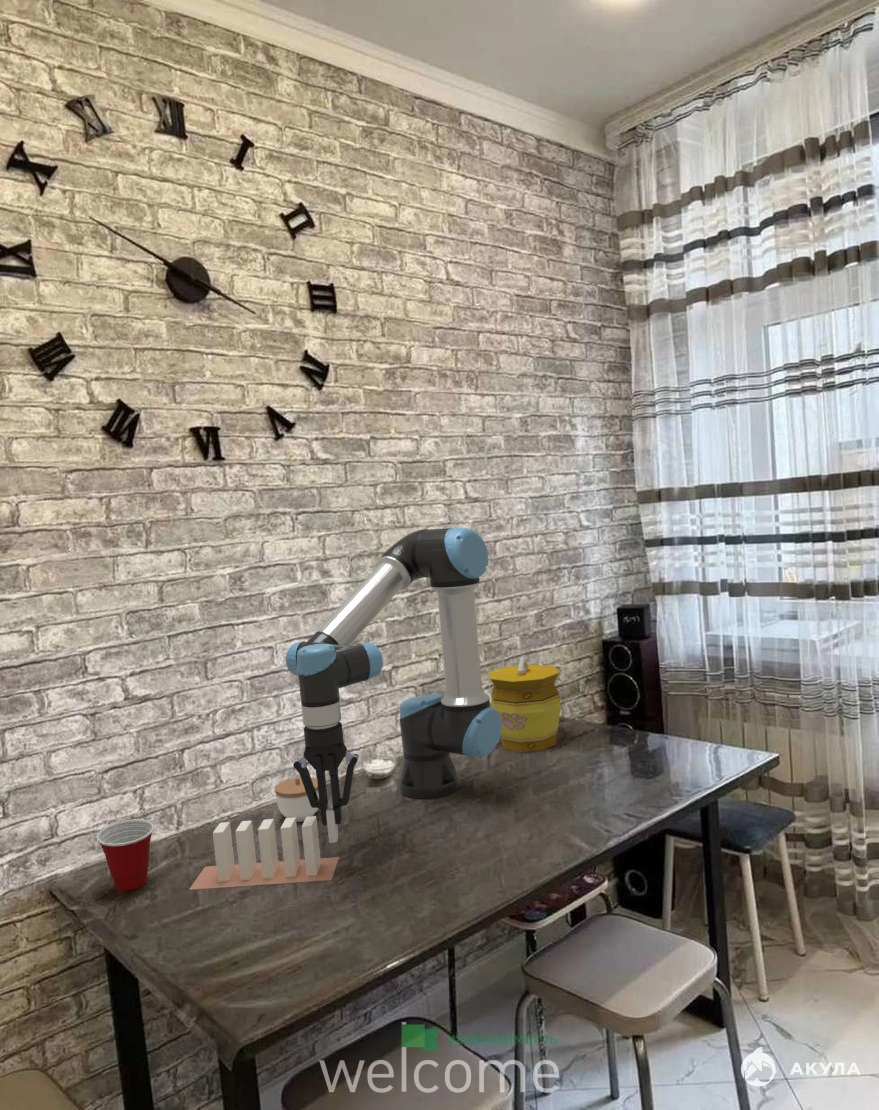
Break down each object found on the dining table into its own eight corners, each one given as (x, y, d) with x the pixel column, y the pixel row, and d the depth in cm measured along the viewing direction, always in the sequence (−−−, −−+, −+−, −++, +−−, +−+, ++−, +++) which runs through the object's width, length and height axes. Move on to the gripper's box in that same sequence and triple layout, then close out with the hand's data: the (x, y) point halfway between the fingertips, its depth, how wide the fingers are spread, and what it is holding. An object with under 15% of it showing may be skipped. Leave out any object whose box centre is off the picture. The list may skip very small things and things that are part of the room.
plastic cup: (113, 906, 159) (106, 846, 158) (95, 888, 167) (88, 831, 166) (168, 886, 166) (162, 827, 165) (149, 869, 174) (142, 814, 173)
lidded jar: (268, 823, 194) (264, 784, 193) (296, 806, 203) (293, 768, 203) (305, 828, 189) (301, 788, 188) (332, 810, 198) (329, 772, 198)
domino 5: (321, 863, 168) (316, 815, 167) (316, 875, 163) (311, 825, 162) (311, 864, 168) (306, 816, 168) (306, 876, 163) (301, 826, 163)
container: (572, 733, 243) (566, 648, 241) (556, 756, 223) (549, 665, 221) (503, 731, 250) (497, 649, 249) (482, 753, 231) (474, 665, 229)
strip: (339, 859, 171) (339, 857, 171) (331, 882, 161) (331, 879, 161) (205, 869, 172) (205, 866, 172) (189, 892, 162) (189, 889, 162)
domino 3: (278, 866, 169) (273, 818, 168) (273, 878, 164) (267, 828, 163) (269, 867, 169) (264, 819, 168) (263, 878, 164) (257, 829, 163)
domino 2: (256, 868, 169) (251, 820, 168) (250, 879, 164) (245, 830, 163) (247, 868, 169) (242, 821, 168) (240, 880, 164) (235, 831, 163)
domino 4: (300, 865, 168) (295, 817, 168) (295, 876, 164) (290, 827, 163) (290, 865, 169) (286, 818, 168) (285, 877, 164) (280, 828, 163)
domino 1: (235, 869, 169) (229, 822, 168) (228, 881, 164) (222, 832, 163) (225, 870, 169) (220, 822, 168) (218, 881, 164) (212, 832, 163)
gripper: (357, 716, 167) (368, 829, 169) (293, 720, 167) (304, 834, 169) (353, 726, 159) (364, 845, 161) (285, 731, 160) (297, 850, 162)
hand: (333, 839), depth 165 cm, fingers closed
